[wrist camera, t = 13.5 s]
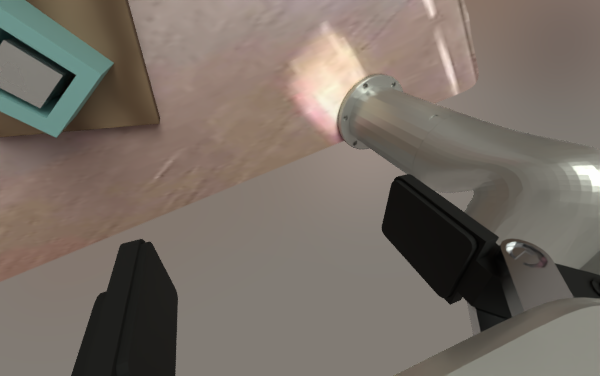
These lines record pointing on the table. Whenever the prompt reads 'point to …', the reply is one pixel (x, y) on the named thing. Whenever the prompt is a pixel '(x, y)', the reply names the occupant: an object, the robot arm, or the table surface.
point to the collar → (61, 49)
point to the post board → (56, 79)
